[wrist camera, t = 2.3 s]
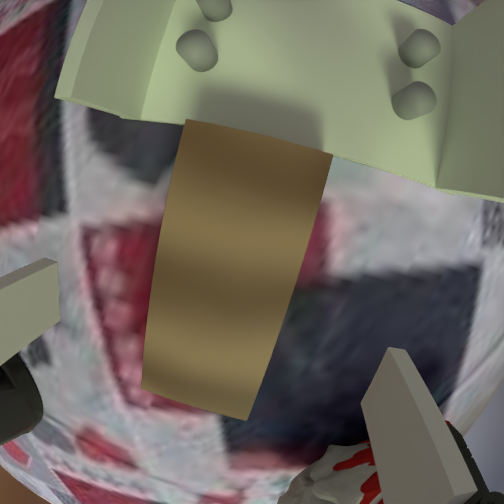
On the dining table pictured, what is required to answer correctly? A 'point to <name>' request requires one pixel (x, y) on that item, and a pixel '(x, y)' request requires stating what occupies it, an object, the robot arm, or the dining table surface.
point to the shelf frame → (309, 78)
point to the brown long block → (227, 263)
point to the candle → (338, 478)
